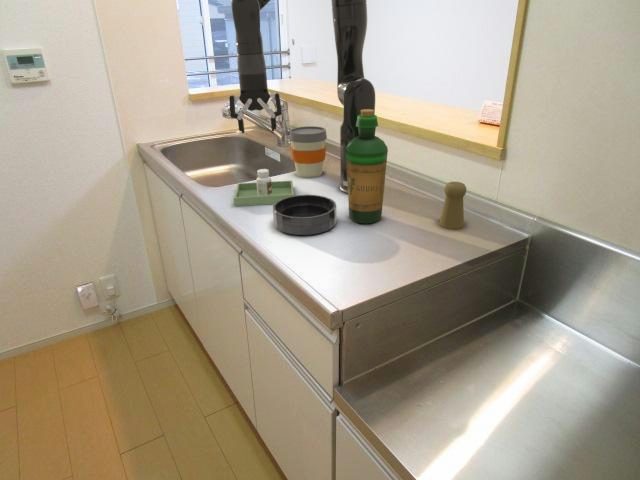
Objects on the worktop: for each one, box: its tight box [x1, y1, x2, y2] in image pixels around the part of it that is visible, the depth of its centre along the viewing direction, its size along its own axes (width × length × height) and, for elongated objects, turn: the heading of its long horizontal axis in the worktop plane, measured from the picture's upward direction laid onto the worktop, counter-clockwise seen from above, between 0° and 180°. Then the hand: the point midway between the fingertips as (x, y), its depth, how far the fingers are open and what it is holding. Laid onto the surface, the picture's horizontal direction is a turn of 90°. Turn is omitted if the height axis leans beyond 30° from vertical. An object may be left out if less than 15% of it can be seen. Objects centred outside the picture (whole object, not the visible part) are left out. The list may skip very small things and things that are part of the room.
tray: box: [233, 180, 295, 207], centre depth 136 cm, size 17×13×2 cm
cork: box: [439, 181, 467, 230], centre depth 112 cm, size 6×6×11 cm
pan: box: [272, 194, 338, 236], centre depth 117 cm, size 16×16×5 cm
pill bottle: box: [255, 168, 272, 196], centre depth 135 cm, size 4×4×8 cm
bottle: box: [346, 109, 389, 225], centre depth 113 cm, size 11×11×28 cm
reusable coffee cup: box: [288, 125, 328, 179], centre depth 153 cm, size 13×13×15 cm
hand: (258, 131), depth 129 cm, fingers open, 8 cm apart
